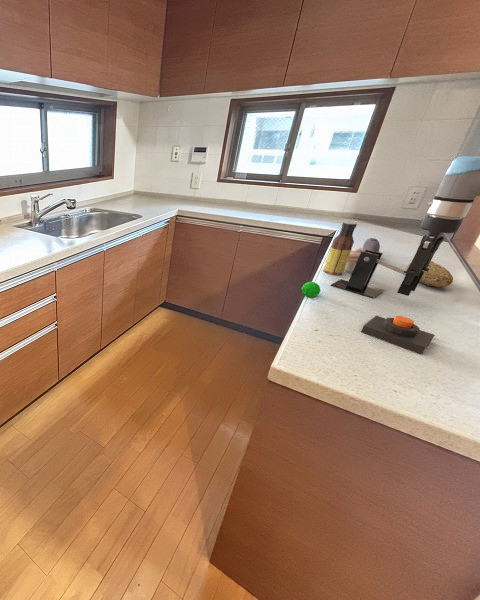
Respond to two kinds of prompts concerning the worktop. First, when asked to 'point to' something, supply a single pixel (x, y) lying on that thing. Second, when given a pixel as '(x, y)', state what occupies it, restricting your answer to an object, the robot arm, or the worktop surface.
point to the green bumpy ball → (311, 289)
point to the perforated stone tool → (371, 245)
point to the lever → (390, 266)
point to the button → (403, 322)
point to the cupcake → (352, 260)
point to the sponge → (436, 276)
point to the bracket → (362, 275)
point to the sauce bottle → (340, 250)
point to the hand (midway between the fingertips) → (405, 291)
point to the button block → (398, 334)
